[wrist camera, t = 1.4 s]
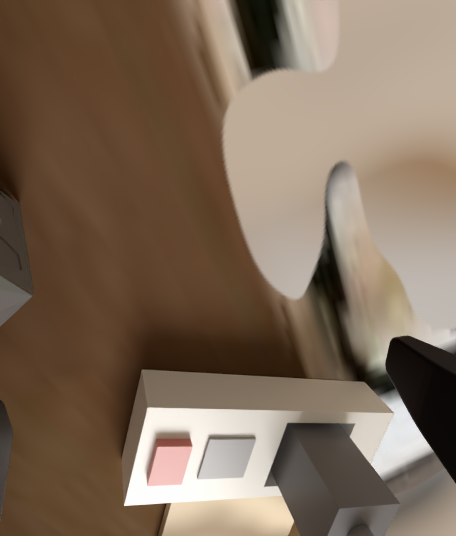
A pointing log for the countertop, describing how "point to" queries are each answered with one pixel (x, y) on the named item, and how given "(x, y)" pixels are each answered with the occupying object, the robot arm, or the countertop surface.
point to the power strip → (231, 431)
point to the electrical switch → (12, 259)
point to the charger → (330, 483)
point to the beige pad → (228, 517)
